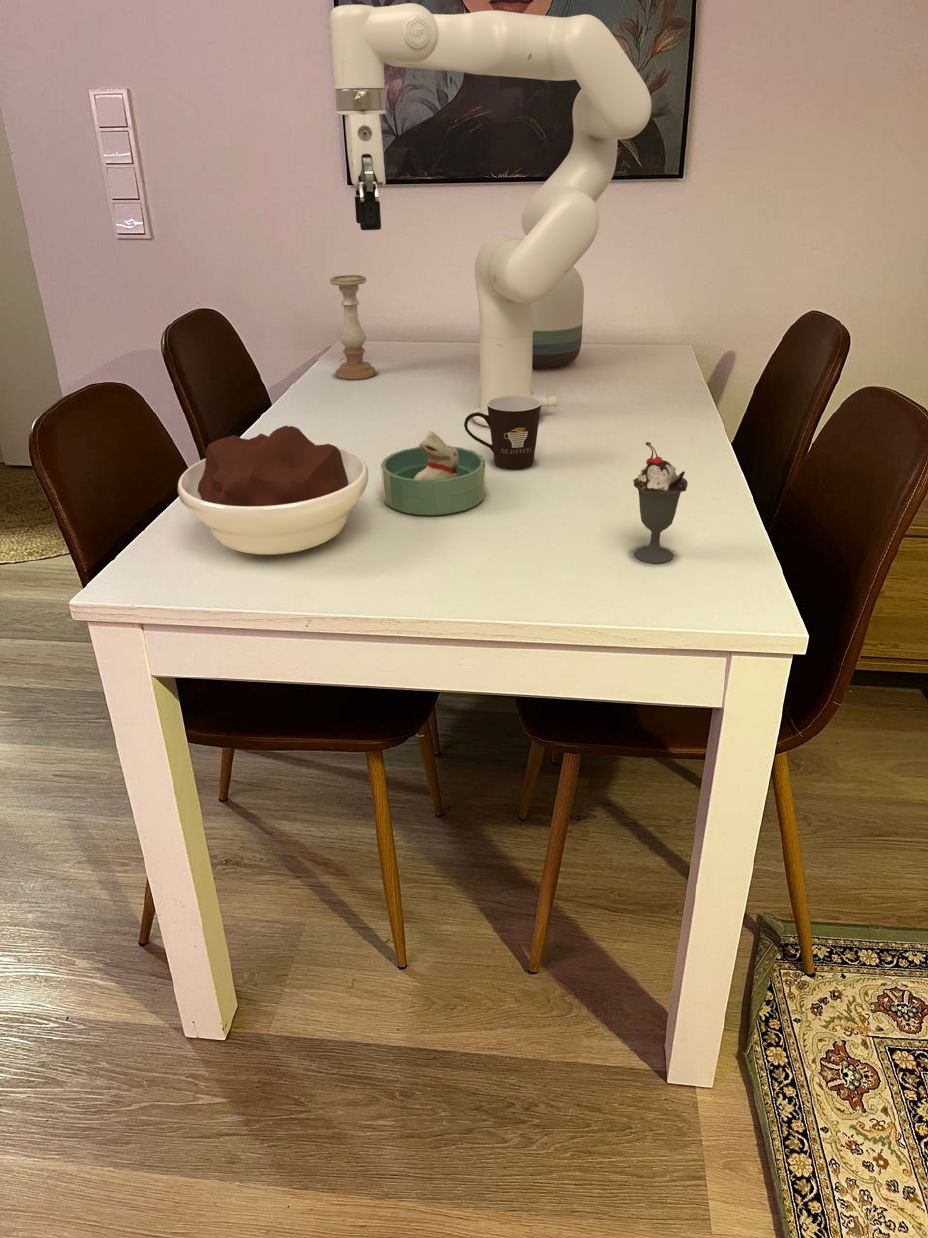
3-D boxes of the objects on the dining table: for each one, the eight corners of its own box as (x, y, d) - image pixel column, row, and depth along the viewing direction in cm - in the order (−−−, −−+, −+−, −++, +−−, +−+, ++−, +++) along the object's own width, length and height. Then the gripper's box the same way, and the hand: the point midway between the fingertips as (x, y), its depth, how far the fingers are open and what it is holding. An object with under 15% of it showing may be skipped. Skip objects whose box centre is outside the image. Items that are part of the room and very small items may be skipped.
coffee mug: (545, 456, 151) (547, 397, 146) (532, 474, 144) (533, 412, 139) (479, 450, 154) (478, 392, 150) (463, 467, 147) (461, 407, 142)
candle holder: (383, 372, 201) (377, 275, 191) (359, 381, 195) (351, 282, 185) (352, 367, 205) (344, 272, 195) (327, 376, 199) (318, 279, 189)
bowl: (472, 475, 144) (472, 441, 142) (495, 511, 131) (495, 475, 129) (378, 484, 142) (375, 450, 139) (391, 522, 129) (389, 485, 126)
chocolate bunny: (461, 500, 134) (460, 435, 129) (408, 503, 134) (405, 437, 129) (458, 486, 139) (457, 423, 134) (407, 489, 139) (404, 425, 134)
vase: (531, 351, 215) (532, 242, 203) (594, 360, 206) (600, 247, 194) (491, 367, 203) (490, 252, 191) (556, 377, 194) (559, 257, 182)
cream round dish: (343, 584, 112) (331, 468, 105) (156, 572, 116) (132, 460, 109) (392, 506, 134) (385, 406, 126) (232, 499, 138) (216, 401, 130)
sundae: (621, 545, 120) (629, 436, 113) (671, 543, 121) (682, 434, 113) (634, 568, 115) (643, 454, 107) (686, 565, 115) (698, 451, 108)
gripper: (391, 102, 130) (397, 231, 139) (380, 103, 145) (386, 219, 153) (338, 103, 129) (348, 233, 138) (333, 104, 144) (342, 221, 152)
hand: (368, 226), depth 145 cm, fingers open, 9 cm apart
